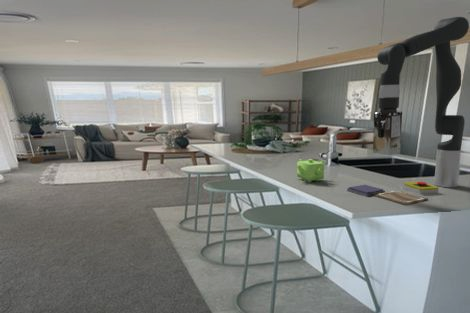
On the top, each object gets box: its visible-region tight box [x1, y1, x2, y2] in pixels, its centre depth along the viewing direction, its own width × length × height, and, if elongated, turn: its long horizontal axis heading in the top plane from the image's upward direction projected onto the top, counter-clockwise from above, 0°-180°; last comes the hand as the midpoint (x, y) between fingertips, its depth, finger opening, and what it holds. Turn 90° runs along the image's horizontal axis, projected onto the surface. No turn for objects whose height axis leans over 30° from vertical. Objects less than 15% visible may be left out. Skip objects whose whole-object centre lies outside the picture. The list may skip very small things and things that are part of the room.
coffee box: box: [372, 114, 403, 156], centre depth 130 cm, size 9×6×16 cm
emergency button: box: [400, 181, 442, 197], centre depth 140 cm, size 9×4×15 cm
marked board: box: [374, 190, 429, 206], centre depth 129 cm, size 14×14×1 cm
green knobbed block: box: [296, 158, 326, 183], centre depth 163 cm, size 15×14×11 cm
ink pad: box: [346, 184, 386, 197], centre depth 139 cm, size 11×11×2 cm
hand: (387, 136), depth 131 cm, fingers closed on coffee box, 6 cm apart
